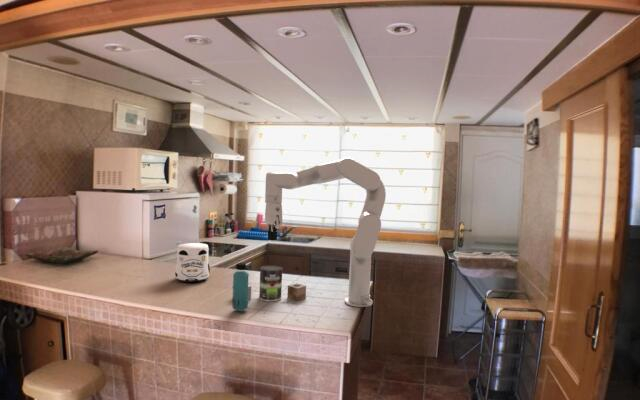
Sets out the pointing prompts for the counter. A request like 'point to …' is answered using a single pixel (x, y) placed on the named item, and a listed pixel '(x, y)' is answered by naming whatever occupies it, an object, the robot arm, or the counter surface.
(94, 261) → the counter surface
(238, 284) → the beverage bottle
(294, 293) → the walnut dotted block
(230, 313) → the counter surface
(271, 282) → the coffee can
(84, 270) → the counter surface
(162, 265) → the counter surface
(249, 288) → the grey dotted block
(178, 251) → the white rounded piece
